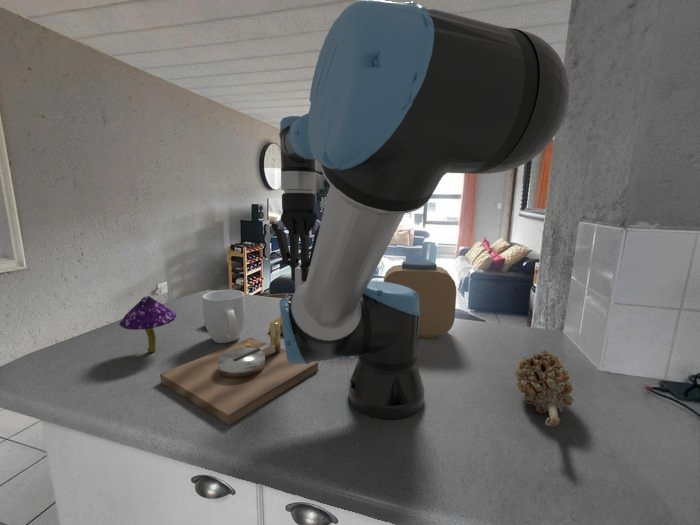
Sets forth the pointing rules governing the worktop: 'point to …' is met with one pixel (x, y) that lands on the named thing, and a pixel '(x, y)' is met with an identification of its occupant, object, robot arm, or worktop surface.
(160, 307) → the decorative mushroom
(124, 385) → the worktop surface
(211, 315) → the mug
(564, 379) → the morel mushroom
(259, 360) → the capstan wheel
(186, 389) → the base plate
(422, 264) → the alarm clock
